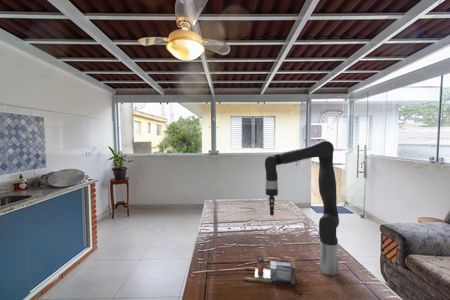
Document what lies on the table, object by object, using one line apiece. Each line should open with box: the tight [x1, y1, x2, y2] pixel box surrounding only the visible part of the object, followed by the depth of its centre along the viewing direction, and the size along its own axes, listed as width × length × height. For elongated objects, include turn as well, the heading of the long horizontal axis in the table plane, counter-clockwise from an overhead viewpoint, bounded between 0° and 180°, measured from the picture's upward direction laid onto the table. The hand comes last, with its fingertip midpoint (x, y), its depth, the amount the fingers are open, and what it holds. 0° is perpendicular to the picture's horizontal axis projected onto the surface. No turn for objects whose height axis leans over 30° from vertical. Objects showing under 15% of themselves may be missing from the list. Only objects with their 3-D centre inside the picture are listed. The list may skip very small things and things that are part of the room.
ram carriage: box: [254, 256, 277, 282], centre depth 135 cm, size 12×9×10 cm
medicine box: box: [276, 261, 291, 283], centre depth 132 cm, size 8×4×9 cm, turn 79°
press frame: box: [243, 257, 296, 285], centre depth 134 cm, size 27×12×9 cm, turn 79°
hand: (271, 212), depth 151 cm, fingers open, 8 cm apart
